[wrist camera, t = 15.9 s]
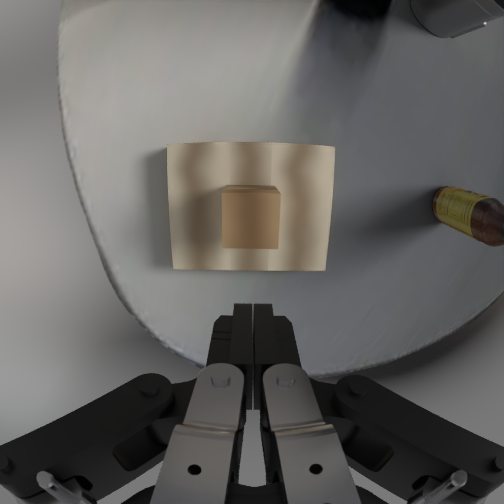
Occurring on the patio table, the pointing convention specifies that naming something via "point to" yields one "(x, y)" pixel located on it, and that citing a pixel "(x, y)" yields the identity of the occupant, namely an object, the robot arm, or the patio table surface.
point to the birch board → (249, 173)
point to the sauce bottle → (471, 214)
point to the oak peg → (250, 217)
